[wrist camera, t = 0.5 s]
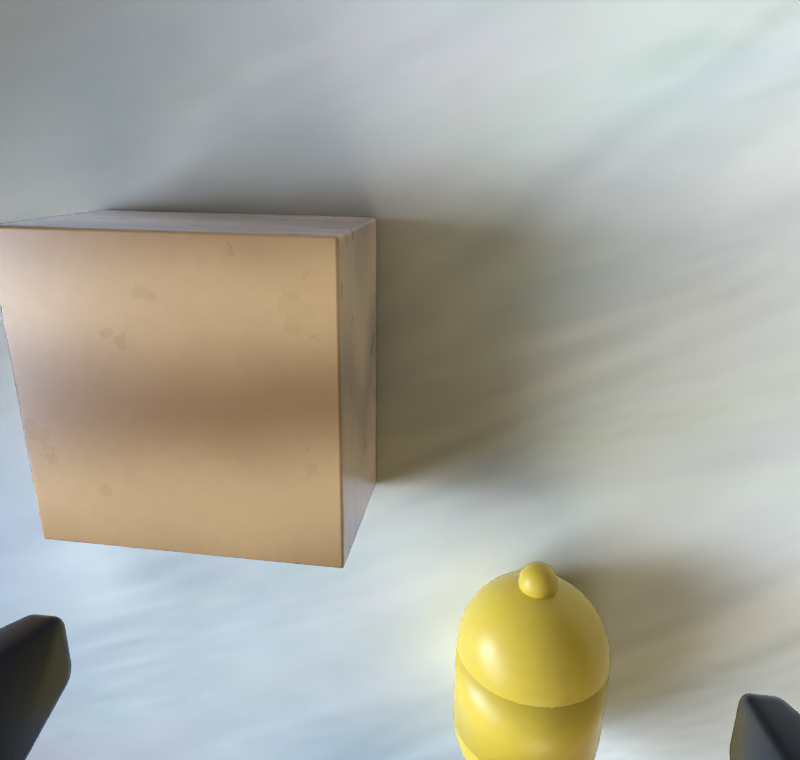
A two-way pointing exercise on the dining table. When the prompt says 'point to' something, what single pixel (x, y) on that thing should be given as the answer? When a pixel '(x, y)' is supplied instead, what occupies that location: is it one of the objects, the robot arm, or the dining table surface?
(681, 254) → the dining table surface
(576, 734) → the lemon
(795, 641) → the dining table surface
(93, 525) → the maple block
